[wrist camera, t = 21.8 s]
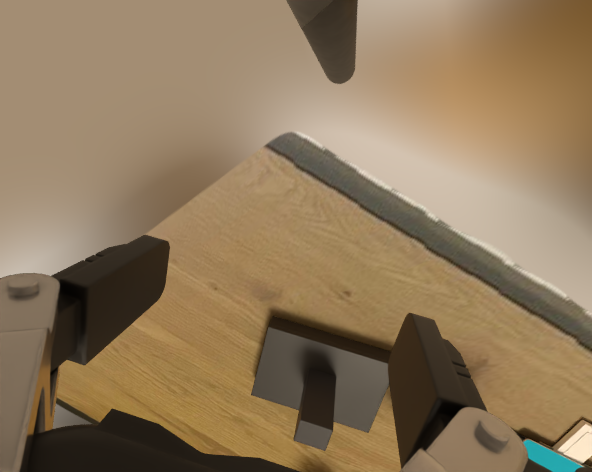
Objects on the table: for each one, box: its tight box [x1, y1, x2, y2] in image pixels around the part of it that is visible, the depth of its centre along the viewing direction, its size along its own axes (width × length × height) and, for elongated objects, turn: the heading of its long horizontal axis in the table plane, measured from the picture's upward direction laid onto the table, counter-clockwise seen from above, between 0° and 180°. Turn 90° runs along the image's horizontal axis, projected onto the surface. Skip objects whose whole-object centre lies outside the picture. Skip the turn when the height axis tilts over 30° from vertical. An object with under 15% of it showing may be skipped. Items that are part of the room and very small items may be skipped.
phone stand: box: [515, 420, 592, 472], centre depth 43 cm, size 20×12×2 cm, turn 65°
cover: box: [251, 316, 391, 451], centre depth 40 cm, size 16×11×11 cm
